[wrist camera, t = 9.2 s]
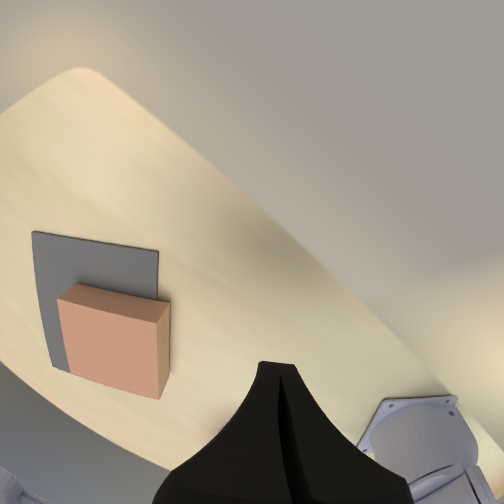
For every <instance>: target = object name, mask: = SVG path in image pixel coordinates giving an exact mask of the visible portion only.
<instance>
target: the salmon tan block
mask: <svg viewBox="0 0 504 504" xmlns="http://www.w3.org/2000/svg"><path fill="white" fill-rule="evenodd" d="M57 303H58V310H59V316H60V323H61V329H62V334H63V340H64V345H65V350H66V355H67V359H68V364H69V368H70V372H71V373H72V374H74V375H77V376H80V377H83V378H85V379H88V380H91V381H94V382H97V383H100V384H103V385H107V386H110V387H113V388H116V389H120V390H123V391H126V392H130V393H134V394H137V395H141V396H145V397H149V398H153V399H157V400H159V399H160V397H161V395H162V392H163V390H164V388H165V385H166V383H167V381H168V378H169V319H170V303H166V302H161V301H156V300H151V299H146V298H141V297H136V296H131V295H126V294H122V293H117V292H113V291H108V290H104V289H99V288H95V287H91V286H86V285H82V284H78V283H77V284H76V285H75V286H73V287H72V288H71V289H69V290H68V291H66V292H65V293H64V294H62V295H61V296H60V297H58V298H57Z"/></svg>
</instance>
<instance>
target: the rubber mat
mask: <svg viewBox="0 0 504 504" xmlns="http://www.w3.org/2000/svg"><path fill="white" fill-rule="evenodd" d="M31 233H32V249H33V261H34V270H35V279H36V287H37V294H38V300H39V307H40V312H41V318H42V323H43V328H44V333H45V338H46V342H47V346H48V351H49V355H50V359H51V362H52V366H53V367H55V368H58V369H60V370H63V371H66V372H68V373H71V372H70V368H69V364H68V359H67V355H66V350H65V345H64V340H63V334H62V329H61V323H60V316H59V310H58V303H57V298H58V297H60V296H61V295H62V294H64V293H65V292H66V291H68V290H69V289H71V288H72V287H73V286H75V285H76V284H77V283H78V284H82V285H86V286H91V287H95V288H99V289H104V290H108V291H113V292H117V293H122V294H126V295H131V296H136V297H141V298H146V299H151V300H156V301H157V295H158V259H159V251H153V250H146V249H140V248H134V247H127V246H121V245H115V244H108V243H102V242H96V241H90V240H84V239H78V238H72V237H66V236H60V235H54V234H48V233H42V232H36V231H32V232H31ZM71 374H72V373H71ZM79 377H80V376H79ZM82 378H83V377H82ZM106 386H107V385H106Z"/></svg>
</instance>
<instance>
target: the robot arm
mask: <svg viewBox="0 0 504 504" xmlns="http://www.w3.org/2000/svg"><path fill="white" fill-rule="evenodd" d="M457 400H458V397H457V396H456V395H452V396H442V397H430V398H415V399H393V400H384V401H383V402H382V403H381V405H380V407H379V409H378V410H377V412H376V414H375V416H374V418H373V420H372V422H371V423H370V425H369V427H368V429H367V431H366V432H365V434H364V436H363V438H362V439H361V441H360V443H359V444H358V446H357V447H356V446H355V445H353V444H352V443H351V442H350V441H349V440H348V439H347V438H346V437H344V436H343V435H342V434H341V432H340V431H339V430H338V429H337V428H336V427H335V426H334V425H333V424H332V422H331V421H330V420H329V419H328V418H327V416H326V415H325V414H324V412H323V411H322V410H321V408H320V407H319V405H318V404H317V402H316V401H315V399H314V398H313V396H312V395H311V393H310V392H309V390H308V388H307V387H306V385H305V383H304V381H303V380H302V378H301V376H300V374H299V372H298V370H297V368H296V367H295V365H294V364H285V363H276V362H267V361H261V362H259V363H258V369H257V374H256V377H255V379H254V382H253V384H252V386H251V388H250V390H249V392H248V394H247V396H246V397H245V399H244V401H243V402H242V404H241V405H240V407H239V408H238V410H237V411H236V413H235V414H234V415H233V417H232V418H231V419H230V421H229V422H228V423H227V424H226V425H225V427H224V428H223V429H222V430H221V431H220V432H219V433H218V434H217V435H216V436H215V437H214V438H213V439H212V440H211V441H210V442H209V443H208V444H207V445H206V446H204V447H203V448H202V449H201V450H200V451H199V452H197V453H196V454H195V455H194V456H193V457H191V458H190V459H188V460H187V461H186V462H184V463H183V464H181V465H180V466H178V467H177V468H175V469H174V470H172V471H171V472H170V474H169V475H168V476H167V478H166V479H165V480H164V482H163V483H162V485H161V486H160V488H159V489H158V491H157V493H156V495H155V497H154V499H153V502H152V504H497V502H496V499H495V497H494V495H493V493H492V491H491V489H490V487H489V485H488V483H487V481H486V479H485V477H484V475H483V473H482V471H481V469H480V467H479V466H476V464H477V461H478V445H477V441H476V439H475V437H474V435H473V434H472V432H471V430H470V428H469V427H468V425H467V423H466V422H465V420H464V419H463V417H462V415H461V414H460V412H459V410H458V409H457V407H456V406H455V403H456V402H457ZM390 404H391V405H390ZM370 452H373V453H374V456H375V460H376V462H375V461H374V460H372V459H371V458H370V457H368V456H367V455H366V454H364V453H370ZM0 504H51V503H50V502H48V501H46V500H44V499H42V498H40V497H39V496H37V495H35V494H33V493H32V492H30V491H28V490H27V489H25V488H24V487H23V485H22V484H21V482H20V481H19V480H18V479H17V478H16V477H15V476H14V475H13V474H11V473H10V472H8V471H7V470H5V469H4V468H2V467H1V466H0ZM499 504H504V501H503V502H501V503H499Z"/></svg>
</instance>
